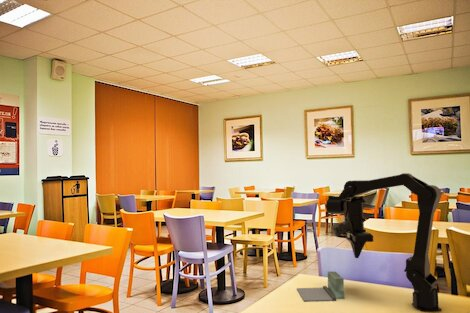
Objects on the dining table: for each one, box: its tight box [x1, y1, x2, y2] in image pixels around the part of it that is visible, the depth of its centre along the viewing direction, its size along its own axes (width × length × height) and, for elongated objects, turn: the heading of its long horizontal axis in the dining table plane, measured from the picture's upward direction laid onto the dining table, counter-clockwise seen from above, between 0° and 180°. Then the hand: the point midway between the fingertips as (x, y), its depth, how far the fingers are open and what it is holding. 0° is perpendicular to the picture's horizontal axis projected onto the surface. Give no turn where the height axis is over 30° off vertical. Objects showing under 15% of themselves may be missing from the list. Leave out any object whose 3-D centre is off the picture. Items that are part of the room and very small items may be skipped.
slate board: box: [296, 285, 337, 302], centre depth 133 cm, size 11×14×1 cm
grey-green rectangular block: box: [327, 270, 345, 300], centre depth 134 cm, size 3×10×7 cm, turn 1°
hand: (356, 257), depth 134 cm, fingers closed
